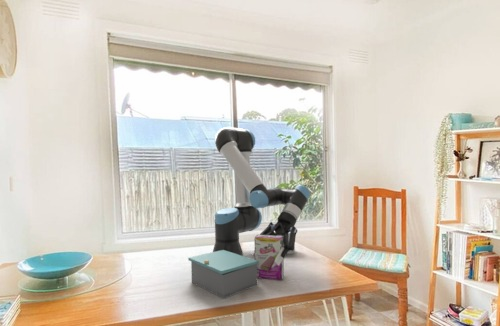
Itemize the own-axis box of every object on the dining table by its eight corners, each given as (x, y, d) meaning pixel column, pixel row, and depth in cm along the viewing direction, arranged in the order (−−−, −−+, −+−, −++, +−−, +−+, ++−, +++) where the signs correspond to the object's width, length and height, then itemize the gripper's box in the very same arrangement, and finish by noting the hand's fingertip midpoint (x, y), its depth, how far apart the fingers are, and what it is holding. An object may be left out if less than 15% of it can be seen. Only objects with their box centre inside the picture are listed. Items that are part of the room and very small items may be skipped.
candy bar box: (254, 278, 119) (253, 237, 119) (257, 273, 124) (257, 234, 124) (282, 280, 116) (281, 238, 116) (284, 276, 121) (283, 235, 121)
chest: (191, 282, 116) (191, 261, 116) (224, 271, 127) (223, 252, 127) (223, 298, 101) (223, 275, 101) (257, 285, 112) (256, 263, 112)
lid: (188, 260, 116) (188, 255, 116) (223, 252, 127) (223, 247, 127) (221, 274, 100) (221, 268, 100) (257, 263, 112) (257, 258, 112)
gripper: (316, 225, 122) (293, 272, 111) (272, 218, 139) (249, 258, 129) (308, 214, 118) (283, 262, 108) (264, 208, 136) (239, 248, 125)
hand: (264, 260), depth 118 cm, fingers closed on candy bar box, 12 cm apart
